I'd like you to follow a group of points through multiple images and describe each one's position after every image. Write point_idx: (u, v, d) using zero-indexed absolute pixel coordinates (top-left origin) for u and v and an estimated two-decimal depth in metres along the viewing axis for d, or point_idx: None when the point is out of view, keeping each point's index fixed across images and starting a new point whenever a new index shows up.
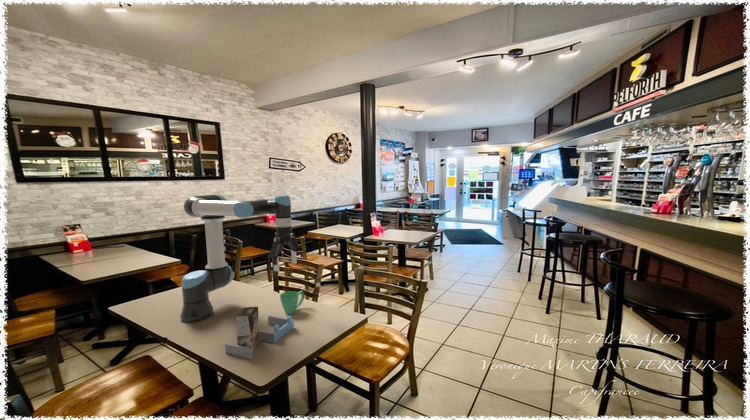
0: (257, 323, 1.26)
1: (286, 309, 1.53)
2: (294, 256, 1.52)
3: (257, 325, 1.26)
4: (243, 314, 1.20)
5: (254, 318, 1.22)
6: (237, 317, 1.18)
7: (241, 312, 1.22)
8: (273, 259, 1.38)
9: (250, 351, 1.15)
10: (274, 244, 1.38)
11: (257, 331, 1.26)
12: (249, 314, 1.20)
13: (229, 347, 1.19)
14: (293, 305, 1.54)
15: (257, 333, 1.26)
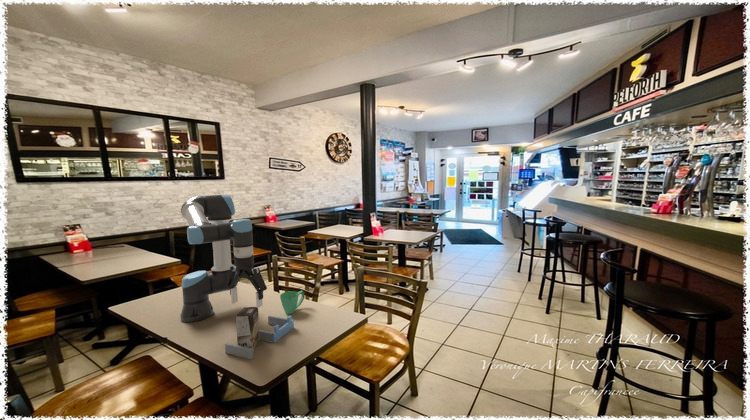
0: (257, 323, 1.26)
1: (286, 309, 1.53)
2: None
3: (257, 325, 1.26)
4: (243, 314, 1.20)
5: (254, 318, 1.22)
6: (237, 317, 1.18)
7: (241, 312, 1.22)
8: None
9: (250, 351, 1.15)
10: None
11: (257, 331, 1.26)
12: (249, 314, 1.20)
13: (229, 347, 1.19)
14: (293, 305, 1.54)
15: (257, 333, 1.26)
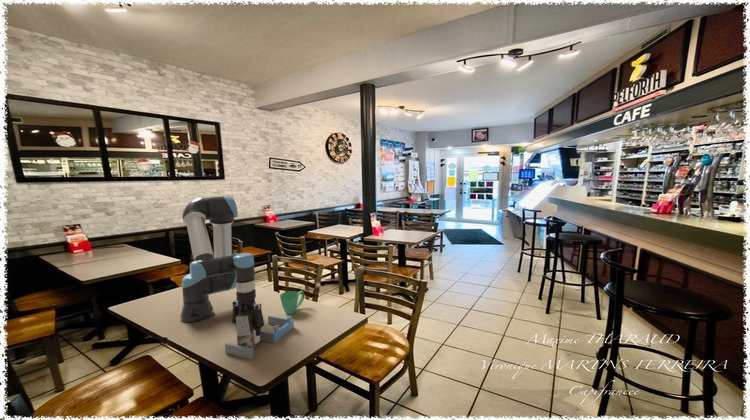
0: None
1: (286, 309, 1.53)
2: None
3: None
4: (243, 314, 1.20)
5: None
6: (237, 317, 1.18)
7: (241, 312, 1.22)
8: None
9: (250, 351, 1.15)
10: None
11: None
12: (248, 314, 1.20)
13: (229, 347, 1.19)
14: (293, 305, 1.54)
15: None
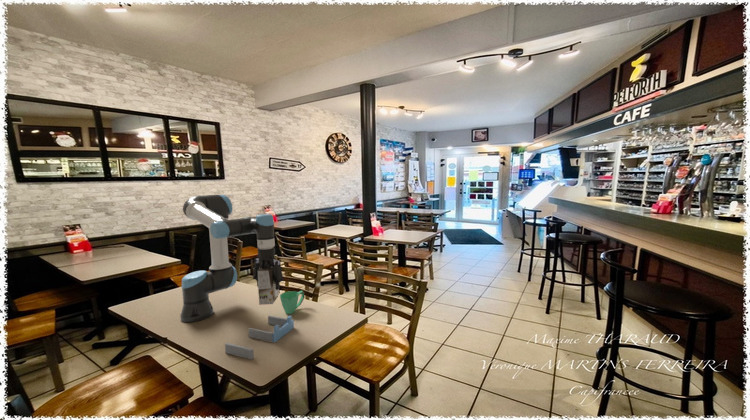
0: None
1: (286, 309, 1.53)
2: None
3: None
4: (264, 269, 1.30)
5: None
6: (258, 271, 1.29)
7: (262, 268, 1.32)
8: None
9: (250, 351, 1.15)
10: None
11: None
12: (269, 269, 1.30)
13: (229, 347, 1.19)
14: (293, 305, 1.54)
15: None
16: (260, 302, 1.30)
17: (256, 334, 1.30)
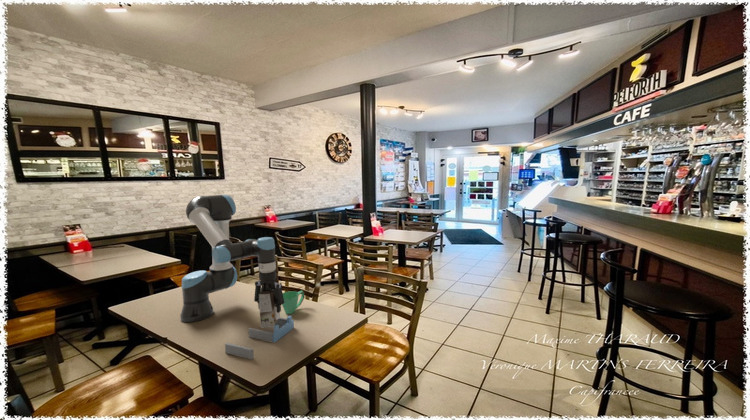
0: None
1: (286, 309, 1.53)
2: None
3: None
4: (265, 292, 1.31)
5: None
6: (260, 295, 1.30)
7: (263, 291, 1.33)
8: None
9: (250, 351, 1.15)
10: None
11: None
12: (270, 292, 1.31)
13: (229, 347, 1.19)
14: (293, 305, 1.54)
15: None
16: (261, 325, 1.31)
17: (256, 334, 1.30)
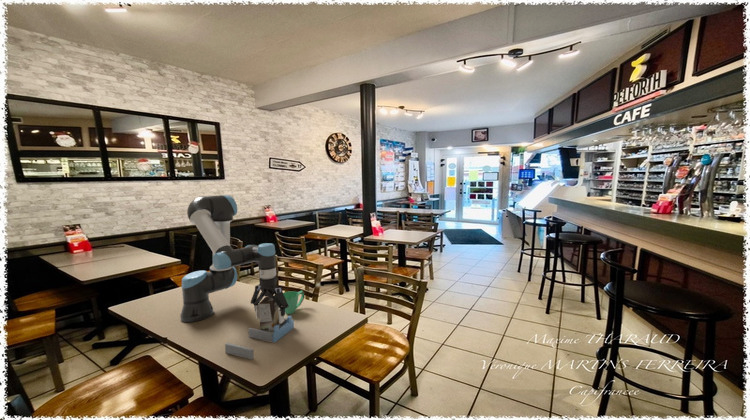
0: (277, 311, 1.38)
1: (286, 309, 1.53)
2: None
3: (277, 313, 1.38)
4: (265, 302, 1.32)
5: (275, 306, 1.34)
6: (260, 304, 1.31)
7: (263, 300, 1.34)
8: None
9: (250, 351, 1.15)
10: None
11: (277, 318, 1.38)
12: (270, 302, 1.32)
13: (229, 347, 1.19)
14: (293, 305, 1.54)
15: (278, 320, 1.38)
16: None
17: (256, 334, 1.30)
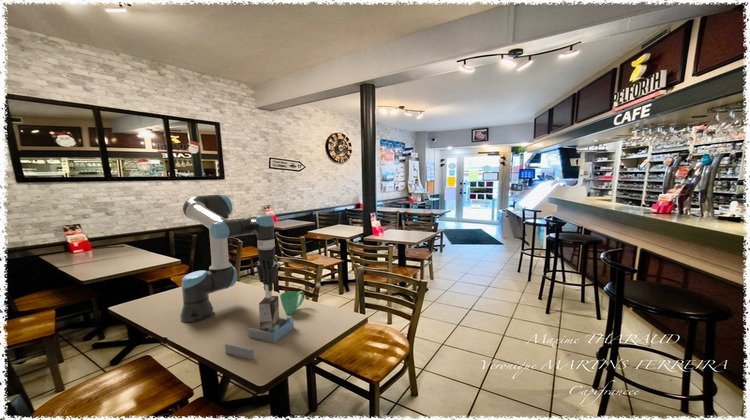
0: (277, 311, 1.38)
1: (286, 309, 1.53)
2: None
3: (277, 313, 1.38)
4: (265, 302, 1.32)
5: (275, 306, 1.34)
6: (260, 304, 1.31)
7: (263, 300, 1.34)
8: None
9: (250, 351, 1.15)
10: None
11: (277, 318, 1.38)
12: (270, 302, 1.32)
13: (229, 347, 1.19)
14: (293, 305, 1.54)
15: (278, 320, 1.38)
16: None
17: (256, 334, 1.30)
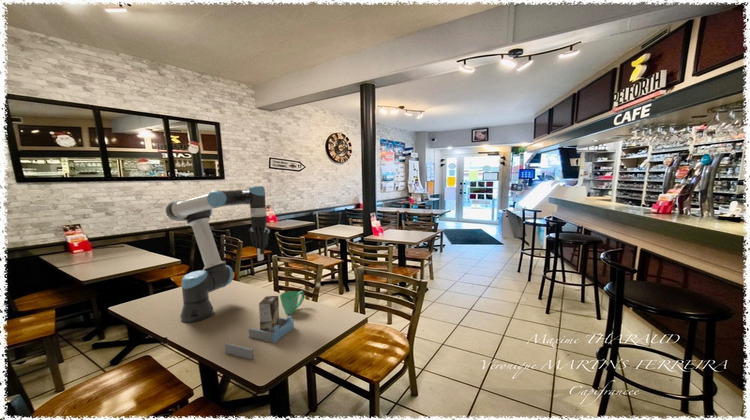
0: (277, 311, 1.38)
1: (286, 309, 1.53)
2: None
3: (277, 313, 1.38)
4: (265, 302, 1.32)
5: (275, 306, 1.34)
6: (260, 304, 1.31)
7: (263, 300, 1.34)
8: None
9: (250, 351, 1.15)
10: None
11: (277, 318, 1.38)
12: (270, 302, 1.32)
13: (229, 347, 1.19)
14: (293, 305, 1.54)
15: (278, 320, 1.38)
16: None
17: (256, 334, 1.30)
